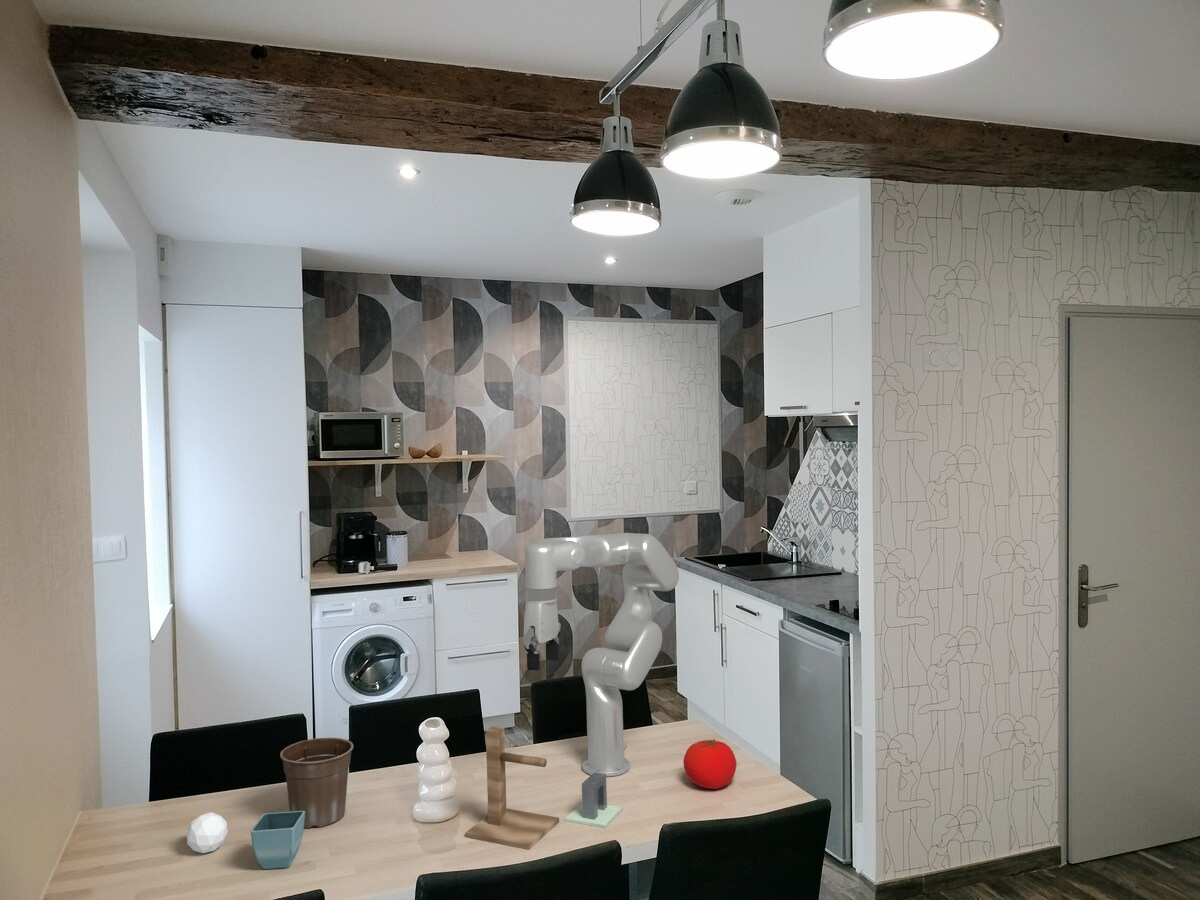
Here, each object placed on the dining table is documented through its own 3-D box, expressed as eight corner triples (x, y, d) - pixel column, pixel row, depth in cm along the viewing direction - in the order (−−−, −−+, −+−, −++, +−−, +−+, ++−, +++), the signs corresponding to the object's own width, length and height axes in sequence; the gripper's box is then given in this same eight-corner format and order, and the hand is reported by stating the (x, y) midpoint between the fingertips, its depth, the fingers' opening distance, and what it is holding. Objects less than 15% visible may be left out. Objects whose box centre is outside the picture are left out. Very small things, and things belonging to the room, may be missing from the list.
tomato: (746, 786, 206) (745, 741, 206) (706, 799, 199) (705, 753, 199) (714, 771, 216) (713, 729, 216) (675, 784, 209) (674, 740, 209)
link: (595, 805, 196) (594, 772, 196) (606, 807, 195) (606, 774, 195) (582, 817, 190) (581, 783, 190) (594, 819, 189) (593, 785, 189)
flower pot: (264, 854, 178) (263, 812, 178) (306, 851, 178) (305, 809, 178) (250, 875, 169) (249, 831, 169) (295, 872, 170) (294, 828, 170)
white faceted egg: (192, 849, 173) (162, 842, 180) (224, 859, 178) (194, 852, 185) (210, 810, 177) (181, 804, 184) (241, 821, 183) (211, 815, 189)
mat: (584, 803, 199) (584, 800, 199) (622, 809, 195) (622, 807, 195) (565, 820, 190) (565, 818, 190) (605, 828, 186) (605, 825, 186)
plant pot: (369, 809, 199) (367, 741, 199) (320, 838, 184) (318, 765, 184) (317, 798, 206) (315, 733, 206) (266, 826, 191) (264, 756, 191)
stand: (498, 811, 196) (496, 717, 196) (561, 822, 189) (558, 725, 189) (465, 837, 183) (462, 737, 183) (531, 850, 176) (528, 746, 176)
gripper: (544, 588, 212) (546, 655, 212) (510, 600, 197) (512, 672, 197) (571, 589, 209) (572, 657, 209) (537, 601, 194) (540, 675, 194)
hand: (543, 664), depth 203 cm, fingers open, 9 cm apart
